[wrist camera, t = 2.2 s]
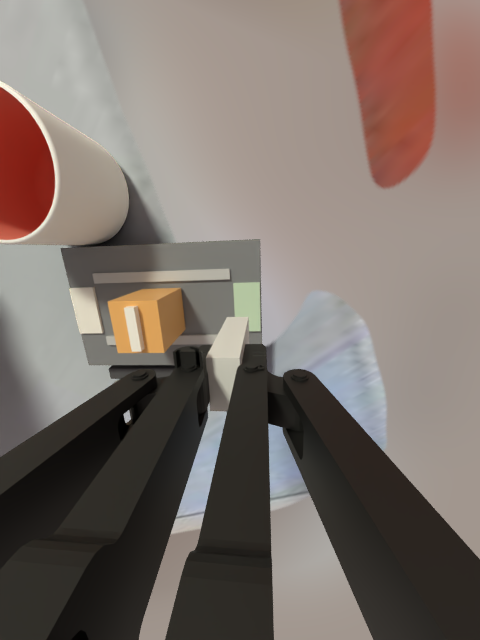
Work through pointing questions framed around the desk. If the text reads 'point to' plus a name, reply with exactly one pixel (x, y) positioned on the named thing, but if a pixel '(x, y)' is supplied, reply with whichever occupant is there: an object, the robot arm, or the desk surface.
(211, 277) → the box
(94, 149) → the cup
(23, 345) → the desk surface
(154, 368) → the black bar
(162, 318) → the breaker toggle
